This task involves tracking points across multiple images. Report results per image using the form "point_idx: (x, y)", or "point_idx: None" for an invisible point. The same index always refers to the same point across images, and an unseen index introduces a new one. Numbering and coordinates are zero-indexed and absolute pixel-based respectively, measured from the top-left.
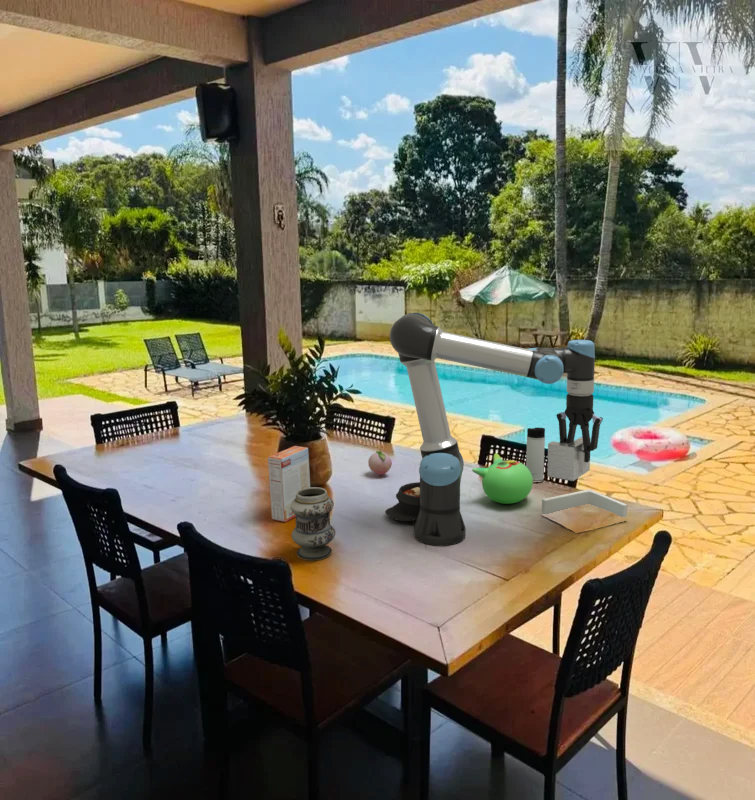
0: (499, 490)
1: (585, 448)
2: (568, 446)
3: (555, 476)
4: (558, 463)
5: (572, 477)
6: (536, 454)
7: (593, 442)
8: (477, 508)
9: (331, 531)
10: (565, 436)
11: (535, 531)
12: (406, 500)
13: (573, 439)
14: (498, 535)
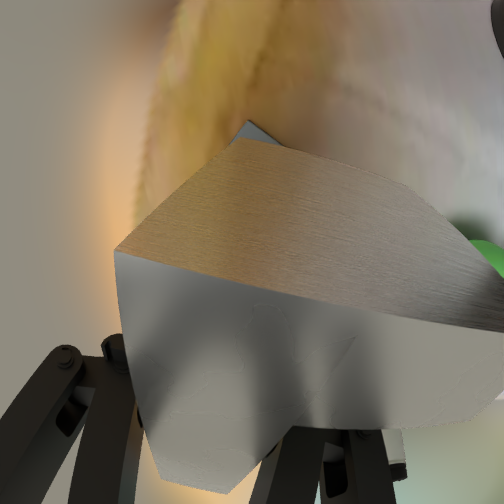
0: (492, 246)
1: (122, 378)
2: (268, 307)
3: (362, 170)
4: (372, 195)
5: (243, 141)
6: (384, 432)
7: (25, 402)
8: (500, 217)
9: None
10: (334, 502)
11: (366, 96)
12: None
13: (257, 483)
14: (443, 50)
